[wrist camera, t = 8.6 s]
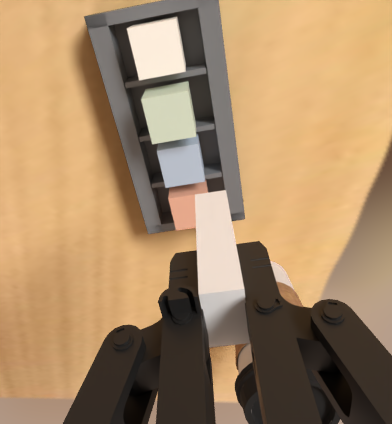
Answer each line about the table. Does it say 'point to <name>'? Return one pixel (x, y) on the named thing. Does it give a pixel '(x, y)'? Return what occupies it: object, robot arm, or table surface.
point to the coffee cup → (246, 377)
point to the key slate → (181, 162)
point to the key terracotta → (185, 204)
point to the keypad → (195, 75)
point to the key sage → (169, 112)
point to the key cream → (157, 48)
